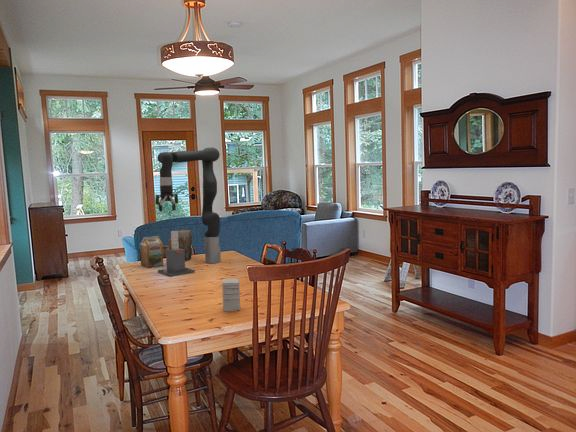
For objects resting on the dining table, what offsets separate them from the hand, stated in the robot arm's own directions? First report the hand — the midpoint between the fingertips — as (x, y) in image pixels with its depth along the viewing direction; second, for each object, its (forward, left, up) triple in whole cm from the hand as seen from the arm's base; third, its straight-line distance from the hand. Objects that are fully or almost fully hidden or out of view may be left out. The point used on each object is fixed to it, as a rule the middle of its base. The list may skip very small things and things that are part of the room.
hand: (167, 211), depth 296 cm
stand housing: (+3, +14, -36) cm, 39 cm away
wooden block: (-6, -2, -36) cm, 37 cm away
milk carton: (+4, -16, -36) cm, 40 cm away
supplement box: (+22, +100, -36) cm, 109 cm away
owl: (-21, -21, -36) cm, 47 cm away
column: (+3, +14, -29) cm, 32 cm away
